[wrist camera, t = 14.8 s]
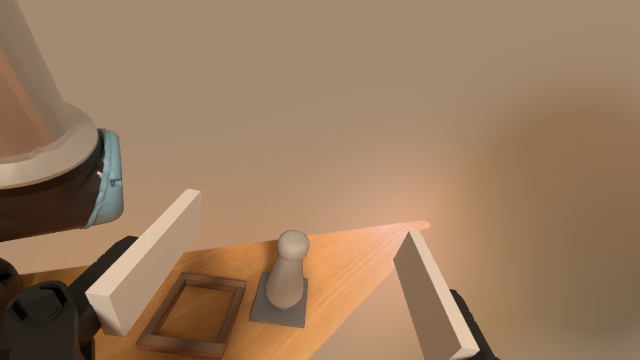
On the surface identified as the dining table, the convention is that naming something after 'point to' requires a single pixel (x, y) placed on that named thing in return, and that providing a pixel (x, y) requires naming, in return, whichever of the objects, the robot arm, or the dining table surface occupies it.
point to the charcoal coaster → (272, 315)
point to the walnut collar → (186, 346)
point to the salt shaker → (288, 270)
